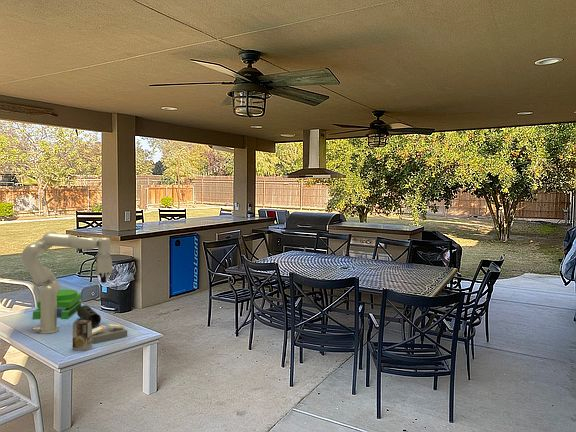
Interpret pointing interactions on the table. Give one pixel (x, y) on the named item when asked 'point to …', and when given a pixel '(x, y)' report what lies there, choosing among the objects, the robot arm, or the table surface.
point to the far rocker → (115, 326)
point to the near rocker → (98, 329)
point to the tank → (63, 304)
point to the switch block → (109, 335)
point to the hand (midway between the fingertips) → (103, 282)
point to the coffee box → (82, 335)
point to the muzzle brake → (89, 315)
